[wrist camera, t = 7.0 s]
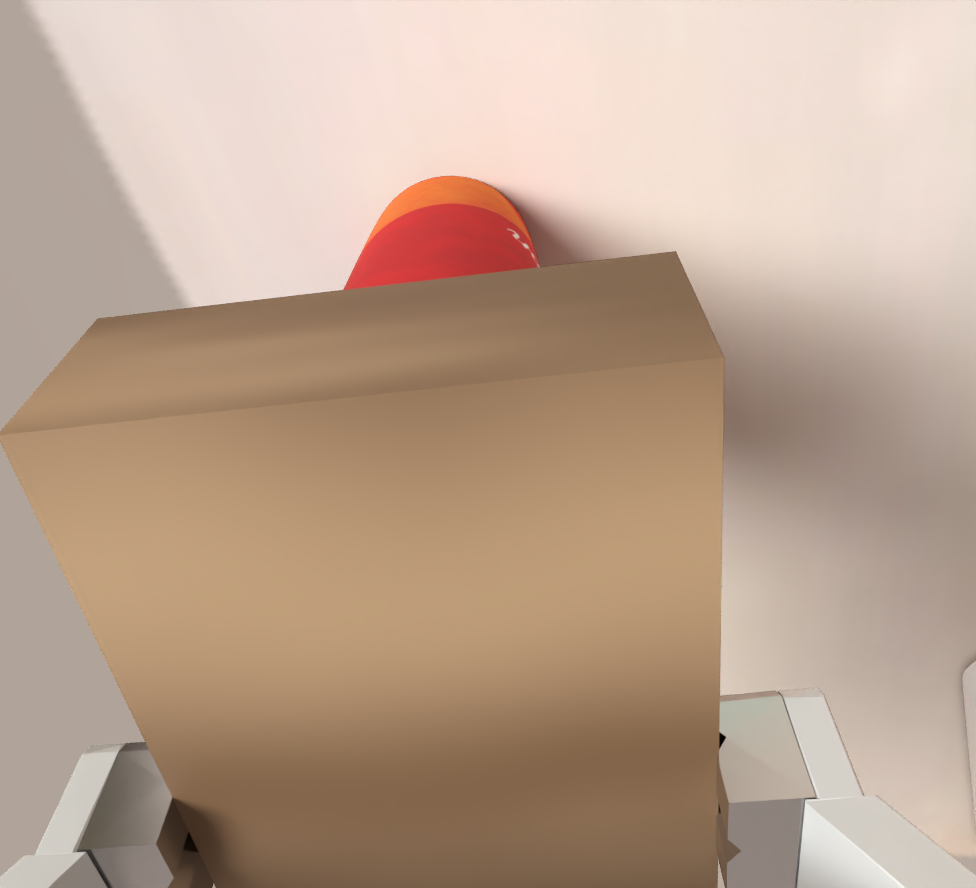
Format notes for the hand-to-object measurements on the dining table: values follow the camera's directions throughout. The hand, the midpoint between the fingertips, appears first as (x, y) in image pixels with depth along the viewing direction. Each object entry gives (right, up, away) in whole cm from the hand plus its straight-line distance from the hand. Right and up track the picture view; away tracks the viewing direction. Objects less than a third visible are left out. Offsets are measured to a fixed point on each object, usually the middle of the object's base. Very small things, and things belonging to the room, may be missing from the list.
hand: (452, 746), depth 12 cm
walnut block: (0, +1, +1) cm, 1 cm away
